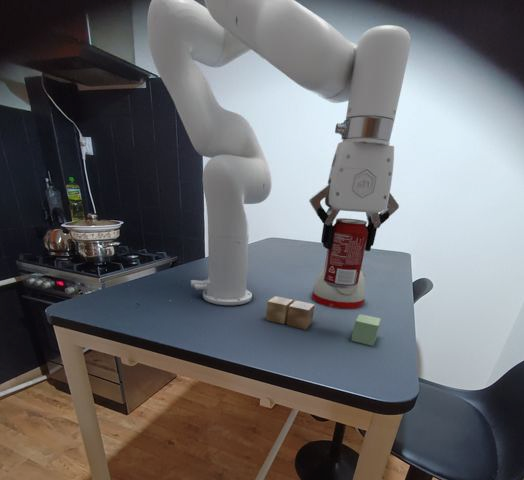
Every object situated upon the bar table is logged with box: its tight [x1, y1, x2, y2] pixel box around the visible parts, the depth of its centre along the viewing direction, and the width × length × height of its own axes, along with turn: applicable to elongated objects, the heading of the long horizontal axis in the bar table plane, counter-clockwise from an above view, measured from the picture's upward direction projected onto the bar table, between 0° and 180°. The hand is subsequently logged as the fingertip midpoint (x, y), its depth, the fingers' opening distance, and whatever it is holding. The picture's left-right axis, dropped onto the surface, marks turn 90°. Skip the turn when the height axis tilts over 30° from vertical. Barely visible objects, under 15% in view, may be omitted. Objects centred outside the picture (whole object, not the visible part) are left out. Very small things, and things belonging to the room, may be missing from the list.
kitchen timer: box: [311, 266, 366, 310], centre depth 83 cm, size 14×14×15 cm
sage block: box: [350, 313, 382, 347], centre depth 64 cm, size 4×4×4 cm
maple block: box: [265, 295, 294, 325], centre depth 71 cm, size 4×4×4 cm
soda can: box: [323, 217, 368, 289], centre depth 60 cm, size 7×7×12 cm
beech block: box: [286, 299, 316, 330], centre depth 69 cm, size 4×4×4 cm
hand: (346, 247), depth 59 cm, fingers closed on soda can, 6 cm apart
